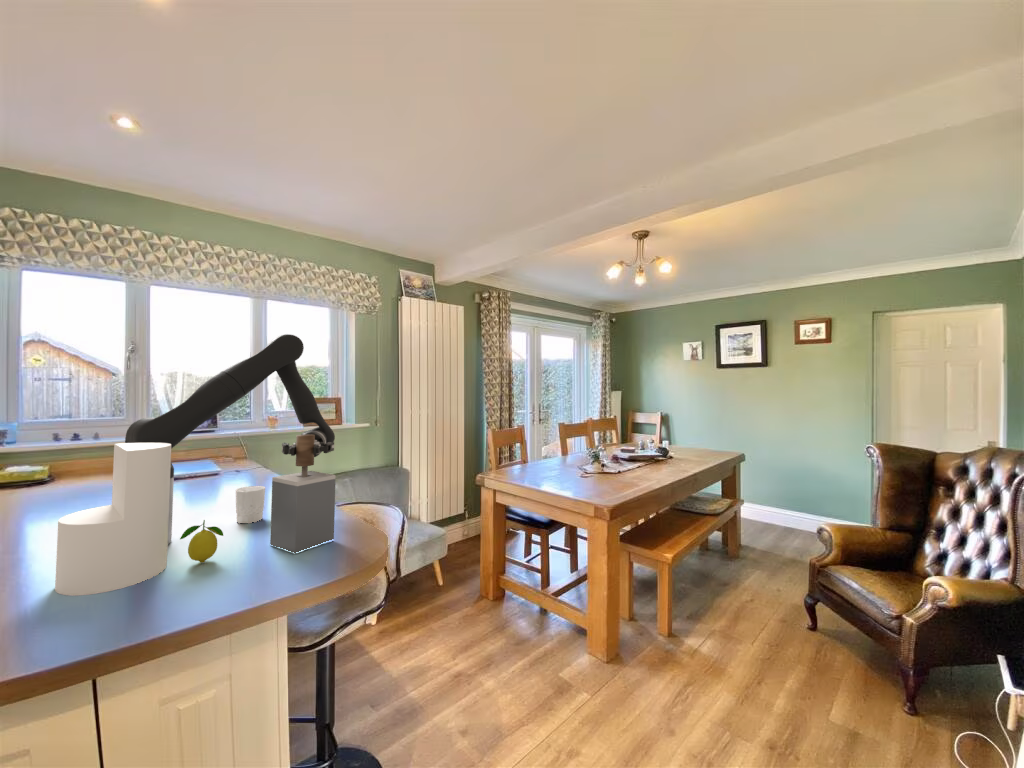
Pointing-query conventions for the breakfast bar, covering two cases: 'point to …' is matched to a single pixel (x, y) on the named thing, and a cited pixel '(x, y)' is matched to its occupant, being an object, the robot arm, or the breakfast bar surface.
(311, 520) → the grey upright block
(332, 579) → the breakfast bar surface
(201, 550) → the lemon
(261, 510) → the white cup
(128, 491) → the white stepped oval block
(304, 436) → the plunger
